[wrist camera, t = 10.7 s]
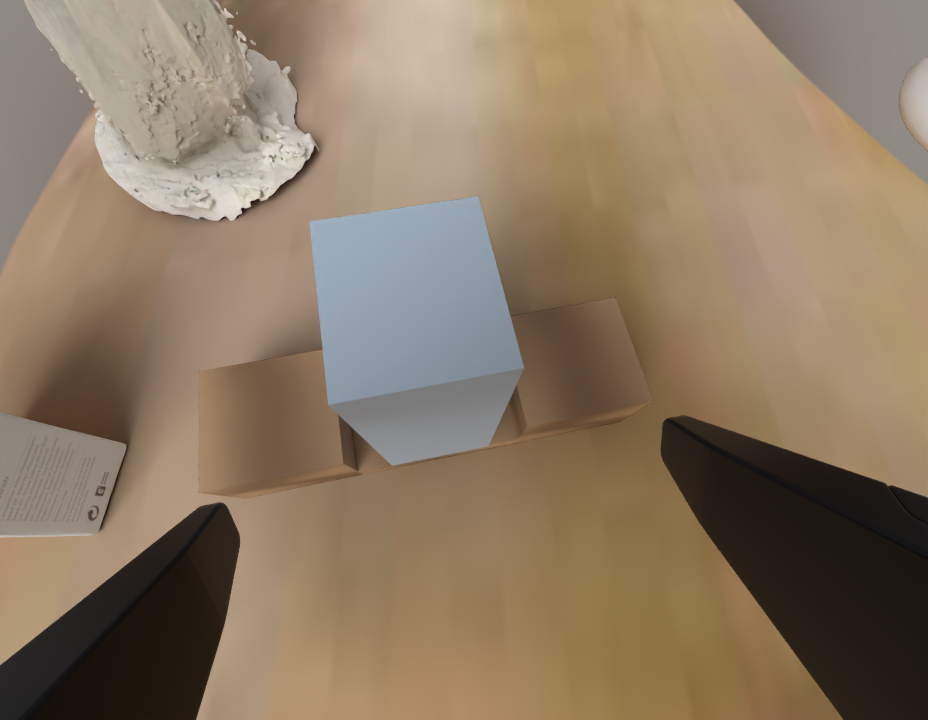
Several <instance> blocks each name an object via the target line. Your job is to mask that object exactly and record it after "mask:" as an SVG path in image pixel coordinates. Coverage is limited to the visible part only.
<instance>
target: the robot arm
mask: <svg viewBox="0 0 928 720" xmlns="http://www.w3.org/2000/svg"><path fill="white" fill-rule="evenodd" d="M661 456H662V459H663V462H664V464H665V465H666V467H667V469H668V471H669V472H670V474H671V476H672V477H673V479H674V481H675V482H676V484H677V486H678V488H679V489H680V491H681V493H682V494H683V496H684V498H685V500H686V501H687V503H688V505H689V506H690V508H691V510H692V511H693V513H694V515H695V516H696V518H697V520H698V521H699V523H700V524H701V526H702V527H703V529H704V530H705V531H706V533H707V534H708V536H709V537H710V538H711V540H712V541H713V542H714V544H715V545H716V547H717V548H718V549H719V551H720V552H721V553H722V555H723V556H724V557H725V559H726V560H727V562H728V563H729V564H730V566H731V567H732V568H733V570H734V571H735V572H736V574H737V575H738V577H739V578H740V579H741V581H742V582H743V583H744V585H745V586H746V587H747V589H748V590H749V592H750V593H751V594H752V596H753V597H754V598H755V600H756V601H757V602H758V604H759V605H760V607H761V608H762V609H763V611H764V612H765V613H766V615H767V616H768V617H769V619H770V620H771V622H772V623H773V624H774V626H775V627H776V628H777V630H778V631H779V632H780V634H781V635H782V637H783V638H784V639H785V641H786V642H787V643H788V645H789V646H790V647H791V649H792V650H793V652H794V653H795V654H796V656H797V657H798V658H799V660H800V661H801V662H802V664H803V665H804V667H805V668H806V669H807V671H808V672H809V673H810V675H811V676H812V677H813V679H814V680H815V682H816V683H817V684H818V686H819V687H820V688H821V690H822V691H823V692H824V694H825V695H826V697H827V698H828V699H829V701H830V702H831V703H832V705H833V706H834V707H835V709H836V710H837V712H838V713H839V714H840V716H841V717H842V718H843V720H928V497H925V496H922V495H919V494H916V493H913V492H910V491H907V490H904V489H901V488H898V487H895V486H892V485H890V486H887V484H885V483H883V482H880V481H877V480H874V479H871V478H868V477H866V476H863V475H860V474H857V473H854V472H851V471H848V470H845V469H842V468H839V467H836V466H833V465H830V464H827V463H824V462H821V461H818V460H815V459H812V458H809V457H806V456H804V455H801V454H798V453H795V452H792V451H789V450H786V449H783V448H780V447H777V446H774V445H771V444H768V443H765V442H762V441H759V440H756V439H753V438H750V437H748V436H745V435H742V434H739V433H736V432H733V431H730V430H727V429H724V428H721V427H718V426H715V425H712V424H709V423H706V422H703V421H700V420H697V419H694V418H692V417H689V416H685V415H682V416H676V417H671V418H667V419H666V420H665V421H664V422H663V427H662V439H661ZM239 548H240V536H239V532H238V530H237V527H236V525H235V523H234V521H233V519H232V516H231V514H230V512H229V510H228V508H227V506H226V505H225V504H224V503H214V504H209V505H204V506H201V507H199V508H197V509H196V510H195V511H193V512H192V513H191V514H190V515H188V516H187V517H186V518H185V519H183V520H182V521H181V522H180V523H178V524H177V525H176V526H175V527H173V528H172V529H171V530H170V531H168V532H167V533H166V534H165V535H163V536H162V537H161V538H160V539H158V540H157V541H156V542H155V543H153V544H152V545H151V546H149V547H148V548H147V549H146V550H144V551H143V552H142V553H141V554H139V555H138V556H137V557H136V558H134V559H133V560H132V561H131V562H129V563H128V564H127V565H126V566H124V567H123V568H122V569H121V570H119V571H118V572H117V573H116V574H114V575H113V576H112V577H111V578H109V579H108V580H107V581H106V582H104V583H103V584H102V585H100V586H99V587H98V588H97V589H95V590H94V591H93V592H92V593H90V594H89V595H88V596H87V597H85V598H84V599H83V600H82V601H80V602H79V603H78V604H77V605H75V606H74V607H73V608H72V609H70V610H69V611H68V612H67V613H65V614H64V615H63V616H62V617H60V618H59V619H58V620H57V621H55V622H54V623H53V624H51V625H50V626H49V627H48V628H46V629H45V630H44V631H43V632H41V633H40V634H39V635H38V636H36V637H35V638H34V639H33V640H31V641H30V642H29V643H28V644H26V645H25V646H24V647H23V648H21V649H20V650H19V651H18V652H16V653H15V654H14V655H13V656H11V657H10V658H9V659H8V660H6V661H5V662H4V663H2V664H1V665H0V720H196V718H197V715H198V711H199V708H200V705H201V702H202V698H203V695H204V692H205V688H206V685H207V682H208V678H209V675H210V672H211V668H212V665H213V662H214V658H215V655H216V652H217V648H218V645H219V642H220V639H221V635H222V631H223V628H224V624H225V620H226V615H227V611H228V605H229V600H230V595H231V590H232V584H233V579H234V574H235V569H236V563H237V558H238V553H239Z"/></svg>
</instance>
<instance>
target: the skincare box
mask: <svg viewBox="0 0 928 720" xmlns="http://www.w3.org/2000/svg"><path fill="white" fill-rule="evenodd" d="M125 451H126V444H124V443H121V442H117V441H113V440H109V439H105V438H101V437H97V436H93V435H89V434H85V433H81V432H76V431H72V430H68V429H64V428H60V427H56V426H52V425H48V424H45V423H40V422H36V421H33V420H29V419H25V418H21V417H17V416H13V415H9V414H5V413H0V537H37V536H81V535H96V534H97V533H98V531H99V529H100V526H101V523H102V520H103V517H104V514H105V511H106V508H107V505H108V502H109V499H110V495H111V493H112V490H113V487H114V484H115V480H116V477H117V474H118V471H119V469H120V466H121V463H122V460H123V457H124V454H125Z"/></svg>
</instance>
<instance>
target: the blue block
mask: <svg viewBox="0 0 928 720" xmlns="http://www.w3.org/2000/svg"><path fill="white" fill-rule="evenodd" d="M310 232H311V241H312V251H313V261H314V271H315V280H316V290H317V300H318V310H319V320H320V329H321V339H322V349H323V359H324V368H325V378H326V388H327V398H328V405H329V406H330V407H331V408H332V409H333V410H334V411H335V412H336V413H337V414H338V415H339V416H340V417H341V418H342V419H343V420H345V421H346V422H347V423H348V424H349V425H350V426H351V427H352V428H353V429H354V430H355V431H356V432H357V433H358V434H359V435H360V436H361V437H362V438H363V439H365V440H366V441H367V442H368V443H369V444H370V445H371V446H372V447H373V448H374V449H375V450H376V451H377V452H378V453H379V454H380V455H381V456H382V457H383V458H385V459H386V460H387V461H388V462H389V463H390V464H391V465H392V466H394V465H399V464H404V463H409V462H414V461H419V460H424V459H429V458H434V457H438V456H443V455H448V454H453V453H458V452H463V451H468V450H473V449H478V448H482V447H487V446H489V444H490V442H491V440H492V437H493V435H494V433H495V431H496V429H497V426H498V424H499V422H500V420H501V418H502V415H503V413H504V411H505V409H506V407H507V405H508V402H509V400H510V398H511V396H512V394H513V391H514V389H515V387H516V385H517V383H518V380H519V378H520V376H521V374H522V372H523V370H524V365H523V362H522V358H521V354H520V350H519V347H518V343H517V339H516V335H515V332H514V328H513V324H512V321H511V317H510V313H509V309H508V306H507V302H506V298H505V294H504V291H503V287H502V283H501V279H500V276H499V272H498V268H497V264H496V261H495V257H494V253H493V250H492V246H491V242H490V238H489V235H488V231H487V227H486V223H485V220H484V216H483V212H482V208H481V205H480V201H479V197H478V196H477V197H471V198H464V199H457V200H451V201H444V202H437V203H431V204H424V205H417V206H411V207H404V208H397V209H391V210H384V211H378V212H371V213H364V214H358V215H351V216H344V217H338V218H331V219H324V220H318V221H311V222H310Z"/></svg>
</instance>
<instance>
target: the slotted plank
mask: <svg viewBox="0 0 928 720" xmlns="http://www.w3.org/2000/svg"><path fill="white" fill-rule="evenodd" d="M510 317H511V321H512V324H513V328H514V332H515V335H516V339H517V343H518V347H519V350H520V354H521V358H522V362H523V365H524V370H523V372H522V374H521V376H520V378H519V380H518V383H517V385H516V387H515V389H514V391H513V394H512V396H511V398H510V400H509V402H508V405H507V407H506V409H505V411H504V413H503V415H502V418H501V420H500V422H499V424H498V426H497V429H496V431H495V433H494V435H493V437H492V440H491V442H490V444H489V446H487V447H482V448H478V449H473V450H468V451H463V452H458V453H453V454H448V455H443V456H438V457H434V458H429V459H424V460H419V461H414V462H409V463H404V464H399V465H394V466H392V465H391V464H390V463H389V462H388V461H387V460H386V459H385V458H383V457H382V456H381V455H380V454H379V453H378V452H377V451H376V450H375V449H374V448H373V447H372V446H371V445H370V444H369V443H368V442H367V441H366V440H365V439H363V438H362V437H361V436H360V435H359V434H358V433H357V432H356V431H355V430H354V429H353V428H352V427H351V426H350V425H349V424H348V423H347V422H346V421H345V420H343V419H342V418H341V417H340V416H339V415H338V414H337V413H336V412H335V411H334V410H333V409H332V408H331V407H330V406H329V405H328V398H327V388H326V378H325V368H324V359H323V350H317V351H311V352H306V353H300V354H294V355H289V356H283V357H278V358H272V359H266V360H261V361H255V362H249V363H244V364H238V365H232V366H227V367H221V368H216V369H210V370H204V371H199V493H205V494H213V495H221V496H229V497H238V498H250V497H255V496H260V495H264V494H269V493H274V492H279V491H284V490H289V489H294V488H299V487H303V486H308V485H313V484H318V483H323V482H328V481H333V480H338V479H342V478H347V477H352V476H357V475H362V474H367V473H372V472H377V471H381V470H386V469H391V468H396V467H401V466H406V465H411V464H416V463H421V462H425V461H430V460H435V459H440V458H445V457H450V456H455V455H460V454H464V453H469V452H474V451H479V450H484V449H489V448H494V447H499V446H503V445H508V444H513V443H518V442H523V441H528V440H533V439H538V438H543V437H547V436H552V435H557V434H562V433H567V432H572V431H577V430H582V429H586V428H591V427H596V426H601V425H606V424H611V423H616V422H620V421H622V420H623V419H625V418H627V417H628V416H630V415H631V414H633V413H635V412H636V411H638V410H640V409H641V408H643V407H645V406H646V405H648V404H649V403H651V402H653V398H652V396H651V393H650V390H649V387H648V385H647V382H646V379H645V376H644V374H643V371H642V368H641V365H640V363H639V360H638V357H637V354H636V352H635V349H634V346H633V343H632V341H631V338H630V335H629V332H628V330H627V327H626V324H625V322H624V319H623V316H622V313H621V311H620V308H619V305H618V302H617V300H616V298H610V299H604V300H599V301H593V302H588V303H582V304H576V305H571V306H565V307H559V308H554V309H548V310H542V311H537V312H531V313H526V314H520V315H514V316H510Z"/></svg>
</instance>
